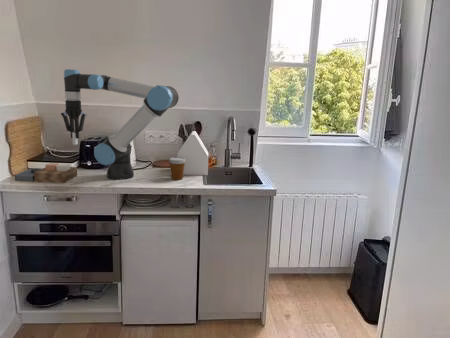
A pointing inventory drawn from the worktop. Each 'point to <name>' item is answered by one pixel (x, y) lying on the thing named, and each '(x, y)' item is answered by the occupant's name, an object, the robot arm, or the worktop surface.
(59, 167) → the cream tile
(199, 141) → the white house model
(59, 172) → the walnut board
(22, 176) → the tray
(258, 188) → the worktop surface
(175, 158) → the disposable coffee cup
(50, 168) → the terracotta tile
